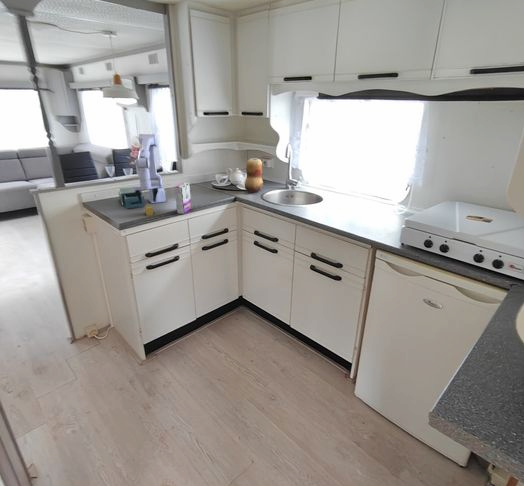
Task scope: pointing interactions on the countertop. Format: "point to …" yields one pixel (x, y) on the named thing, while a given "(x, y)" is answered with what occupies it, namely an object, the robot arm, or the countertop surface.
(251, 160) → the butternut squash
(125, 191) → the cabinet
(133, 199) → the drawer
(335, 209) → the countertop surface
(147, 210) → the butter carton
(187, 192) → the candy bar box
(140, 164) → the robot arm
